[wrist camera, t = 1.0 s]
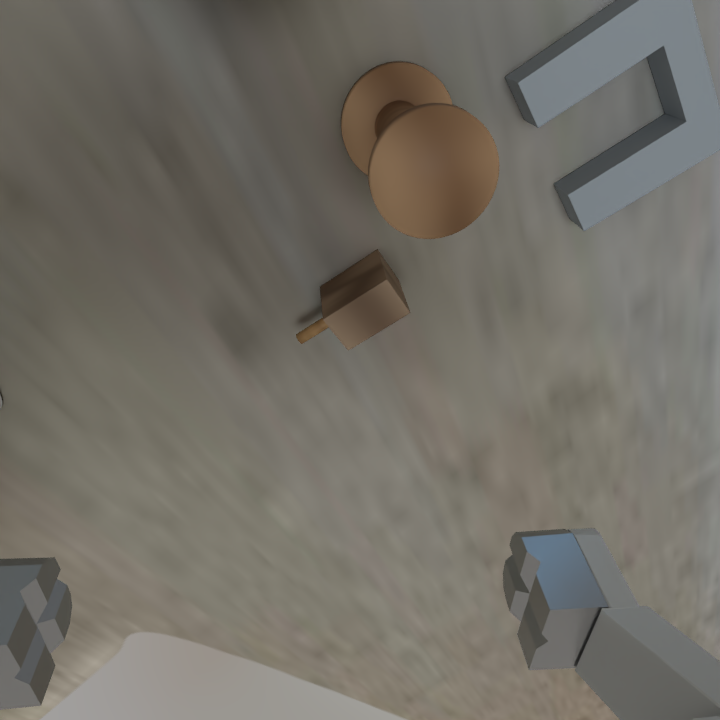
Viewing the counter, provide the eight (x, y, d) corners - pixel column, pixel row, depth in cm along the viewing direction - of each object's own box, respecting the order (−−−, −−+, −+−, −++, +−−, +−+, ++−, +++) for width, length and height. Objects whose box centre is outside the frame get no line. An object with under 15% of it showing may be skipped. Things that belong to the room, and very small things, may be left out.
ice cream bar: (310, 335, 45) (312, 372, 40) (287, 307, 43) (286, 342, 39) (398, 280, 43) (410, 312, 39) (377, 249, 41) (386, 279, 37)
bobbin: (378, 199, 39) (408, 274, 29) (318, 107, 36) (329, 156, 26) (469, 138, 38) (533, 195, 28) (416, 35, 34) (467, 58, 24)
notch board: (569, 218, 41) (584, 231, 39) (504, 76, 36) (517, 83, 34) (705, 135, 39) (729, 144, 37) (659, -30, 33) (683, -31, 31)
